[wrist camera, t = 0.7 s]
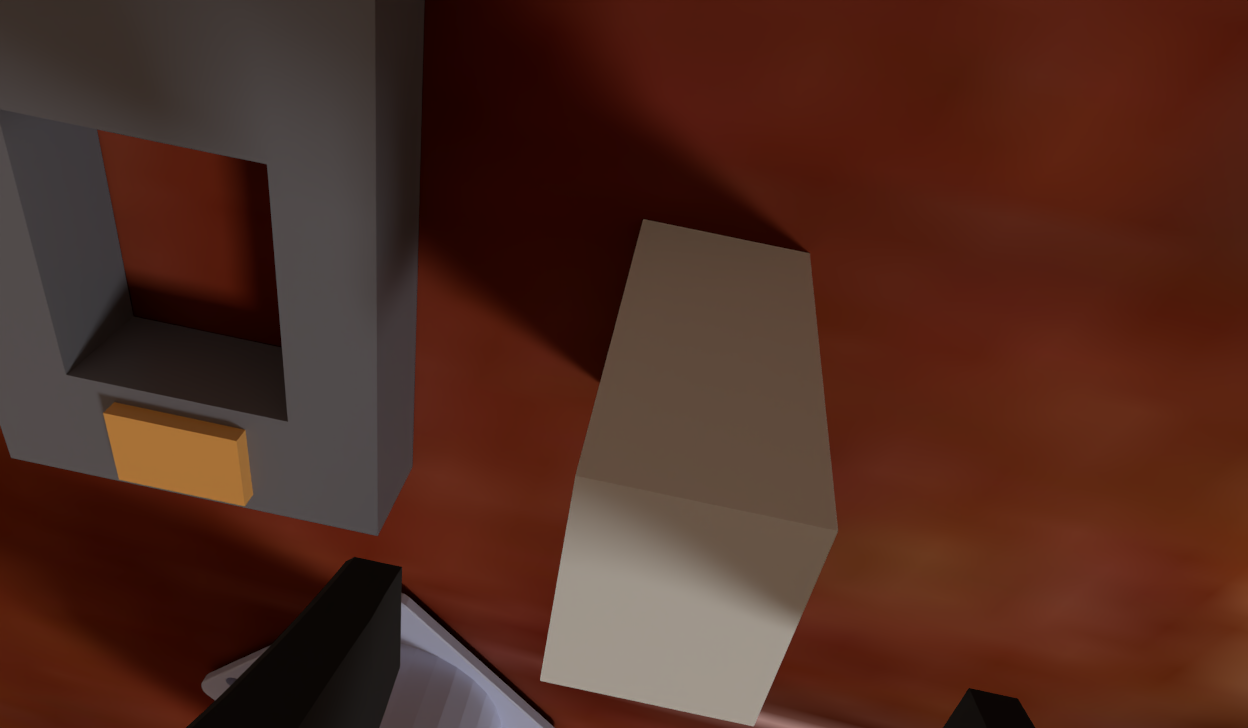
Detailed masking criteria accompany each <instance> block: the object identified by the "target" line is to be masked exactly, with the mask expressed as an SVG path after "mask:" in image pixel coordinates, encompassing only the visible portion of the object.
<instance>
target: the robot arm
mask: <svg viewBox="0 0 1248 728" xmlns="http://www.w3.org/2000/svg"><path fill="white" fill-rule="evenodd" d="M401 587H402V567H399V566H394V565H390V564H385V563H380V562H375V561H371V560H366V559H361V558H357V557H354V558H352V559H350V560H348V561H346V562H345V563H344V564H343V566H342V567H341V568H340V569H339V570H338V572H337V573H336V574H335V575H334V576H333V578H332V579H331V580H330V581H329V582H328V583H327V584H326V586H325V587H324V588H323V589H322V590H321V591H320V592H319V594H318V595H317V596H316V597H315V598H314V599H313V600H312V601H311V603H310V604H309V605H308V606H307V607H306V608H305V609H304V610H303V611H302V612H301V614H300V615H299V616H298V617H297V618H296V619H295V620H294V621H293V622H292V623H291V624H290V625H289V626H288V628H287V629H286V630H285V631H284V632H283V633H282V634H281V635H280V636H279V637H278V638H277V639H276V640H275V641H274V642H273V643H272V644H271V645H270V646H267V647H265V648H263V649H261V650H259V651H257V652H254V653H252V654H250V655H248V656H246V657H243V658H241V659H239V660H237V661H235V662H232V663H230V664H228V665H226V666H224V667H221V668H219V669H217V670H215V671H213V672H211V673H209V674H207V675H206V677H205V678H204V680H203V682H202V684H201V687H202V689H203V691H204V692H205V693H206V694H207V695H208V696H210V697H211V698H212V699H214V700H215V701H214V702H213V703H212V704H211V705H210V706H209V707H208V708H207V709H206V710H205V711H204V712H203V713H202V714H200V715H199V716H198V717H197V718H196V719H195V720H194V721H193V722H192V723H191V724H189V725H188V726H187V727H186V728H554V727H553V726H552V725H551V724H550V723H549V722H548V721H547V720H546V719H544V718H543V717H542V716H541V715H540V714H539V713H538V712H537V711H536V710H534V709H533V708H532V707H531V706H530V705H529V704H528V703H527V702H526V701H524V700H523V699H522V698H521V697H520V696H519V695H518V694H517V693H515V692H514V691H513V690H512V689H511V688H510V687H509V686H508V685H507V684H505V683H504V682H503V681H502V680H501V679H500V678H499V677H498V676H497V675H495V674H494V673H493V672H492V671H491V670H490V669H489V668H488V667H487V666H485V665H484V664H483V663H482V662H481V661H480V660H479V659H478V658H476V657H475V656H474V655H473V654H472V653H471V652H470V651H469V650H468V649H466V648H465V647H464V646H463V645H462V644H461V643H460V642H459V641H458V640H456V639H455V638H454V637H453V636H452V635H451V634H450V633H449V632H448V631H446V630H445V629H444V628H443V627H442V626H441V625H440V624H439V623H438V622H436V621H435V620H434V619H433V618H432V617H431V616H430V615H429V614H427V613H426V612H425V611H424V610H423V609H422V608H421V607H420V606H419V605H417V604H416V603H415V602H414V601H413V600H412V599H411V598H410V597H408V596H407V595H405V594H404V593H401ZM943 728H1035V727H1034V725H1033V723H1032V722H1031V720H1030V718H1029V717H1028V715H1027V713H1026V712H1025V710H1024V708H1023V707H1022V705H1021V703H1020V702H1019V700H1018V699H1017V698H1012V697H1008V696H1003V695H998V694H994V693H989V692H984V691H980V690H975V689H970V688H969V689H968V691H967V692H966V694H965V695H964V697H963V698H962V700H961V701H960V703H959V704H958V706H957V707H956V709H955V710H954V712H953V713H952V715H951V717H950V718H949V720H948V721H947V723H946V724H945V726H944V727H943Z"/></svg>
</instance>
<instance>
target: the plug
mask: <svg viewBox="0 0 1248 728" xmlns="http://www.w3.org/2000/svg"><path fill="white" fill-rule="evenodd" d="M837 532H838V527H837V517H836V507H835V497H834V487H833V478H832V468H831V458H830V448H829V438H828V429H827V419H826V409H825V399H824V390H823V380H822V370H821V360H820V350H819V341H818V331H817V321H816V311H815V301H814V292H813V282H812V272H811V262H810V253H806V252H801V251H796V250H791V249H787V248H782V247H777V246H772V245H767V244H762V243H757V242H753V241H748V240H743V239H738V238H733V237H728V236H723V235H718V234H714V233H709V232H704V231H699V230H694V229H689V228H684V227H680V226H675V225H670V224H665V223H660V222H655V221H650V220H646V219H643V221H642V225H641V229H640V233H639V237H638V240H637V244H636V248H635V252H634V256H633V259H632V263H631V267H630V271H629V275H628V278H627V282H626V286H625V290H624V294H623V297H622V301H621V305H620V309H619V313H618V316H617V320H616V324H615V328H614V332H613V335H612V339H611V343H610V347H609V351H608V354H607V358H606V362H605V366H604V370H603V373H602V377H601V381H600V385H599V389H598V392H597V396H596V400H595V404H594V407H593V411H592V415H591V419H590V423H589V426H588V430H587V434H586V438H585V442H584V445H583V449H582V453H581V457H580V461H579V464H578V468H577V472H576V476H575V482H574V487H573V493H572V499H571V505H570V510H569V516H568V522H567V528H566V533H565V539H564V545H563V551H562V557H561V562H560V568H559V574H558V580H557V585H556V591H555V597H554V603H553V608H552V614H551V620H550V626H549V631H548V637H547V643H546V649H545V654H544V660H543V666H542V672H541V677H540V681H544V682H549V683H554V684H558V685H563V686H568V687H572V688H577V689H582V690H586V691H591V692H596V693H600V694H605V695H610V696H614V697H619V698H624V699H628V700H633V701H638V702H642V703H647V704H652V705H656V706H661V707H666V708H670V709H675V710H680V711H684V712H689V713H694V714H698V715H703V716H708V717H712V718H717V719H722V720H726V721H731V722H736V723H740V724H745V725H750V726H754V725H755V722H756V720H757V718H758V715H759V713H760V711H761V708H762V706H763V704H764V701H765V699H766V697H767V694H768V692H769V690H770V687H771V685H772V683H773V680H774V678H775V676H776V674H777V671H778V669H779V667H780V664H781V662H782V660H783V657H784V655H785V653H786V650H787V648H788V646H789V643H790V641H791V639H792V636H793V634H794V632H795V629H796V627H797V625H798V622H799V620H800V618H801V616H802V613H803V611H804V609H805V606H806V604H807V602H808V599H809V597H810V595H811V592H812V590H813V588H814V585H815V583H816V581H817V578H818V576H819V574H820V571H821V569H822V567H823V565H824V562H825V560H826V558H827V555H828V553H829V551H830V548H831V546H832V544H833V541H834V539H835V537H836V534H837Z"/></svg>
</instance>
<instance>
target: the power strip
mask: <svg viewBox="0 0 1248 728" xmlns="http://www.w3.org/2000/svg"><path fill="white" fill-rule="evenodd" d="M424 7H425V0H0V426H1V429H2V432H3V435H4V438H5V441H6V444H7V447H8V450H9V453H10V456H11V458H14V459H19V460H24V461H28V462H33V463H38V464H42V465H47V466H52V467H57V468H61V469H66V470H71V471H75V472H80V473H85V474H89V475H94V476H99V477H104V478H108V479H113V480H118V481H122V482H127V483H132V484H136V485H141V486H146V487H151V488H155V489H160V490H165V491H169V492H174V493H179V494H183V495H188V496H193V497H197V498H202V499H207V500H212V501H216V502H221V503H226V504H230V505H235V506H240V507H244V508H249V509H254V510H259V511H263V512H268V513H273V514H277V515H282V516H287V517H291V518H296V519H301V520H306V521H310V522H315V523H320V524H324V525H329V526H334V527H338V528H343V529H348V530H352V531H357V532H362V533H367V534H371V535H376V536H378V534H379V532H380V530H381V528H382V526H383V524H384V522H385V520H386V518H387V516H388V514H389V512H390V510H391V508H392V506H393V504H394V502H395V500H396V498H397V497H398V495H399V493H400V491H401V489H402V487H403V485H404V483H405V481H406V479H407V477H408V475H409V473H410V471H411V469H412V461H413V424H414V386H415V348H416V310H417V272H418V234H419V196H420V158H421V120H422V82H423V45H424ZM97 129H98V130H103V131H108V132H113V133H117V134H122V135H127V136H132V137H137V138H142V139H146V140H151V141H156V142H161V143H166V144H171V145H176V146H180V147H185V148H190V149H195V150H200V151H205V152H209V153H214V154H219V155H224V156H229V157H234V158H239V159H243V160H248V161H253V162H258V163H263V164H267V171H268V183H269V196H270V208H271V220H272V232H273V245H274V257H275V269H276V282H277V294H278V306H279V318H280V331H281V343H282V347H277V346H272V345H267V344H263V343H258V342H253V341H248V340H244V339H239V338H234V337H229V336H225V335H220V334H215V333H210V332H205V331H201V330H196V329H191V328H186V327H182V326H177V325H172V324H167V323H163V322H158V321H153V320H148V319H143V318H139V317H134V316H133V311H132V306H131V301H130V296H129V291H128V286H127V281H126V276H125V270H124V265H123V260H122V255H121V250H120V245H119V240H118V235H117V230H116V225H115V220H114V214H113V209H112V204H111V199H110V194H109V189H108V184H107V179H106V174H105V169H104V164H103V158H102V153H101V148H100V143H99V138H98V133H97Z"/></svg>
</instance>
